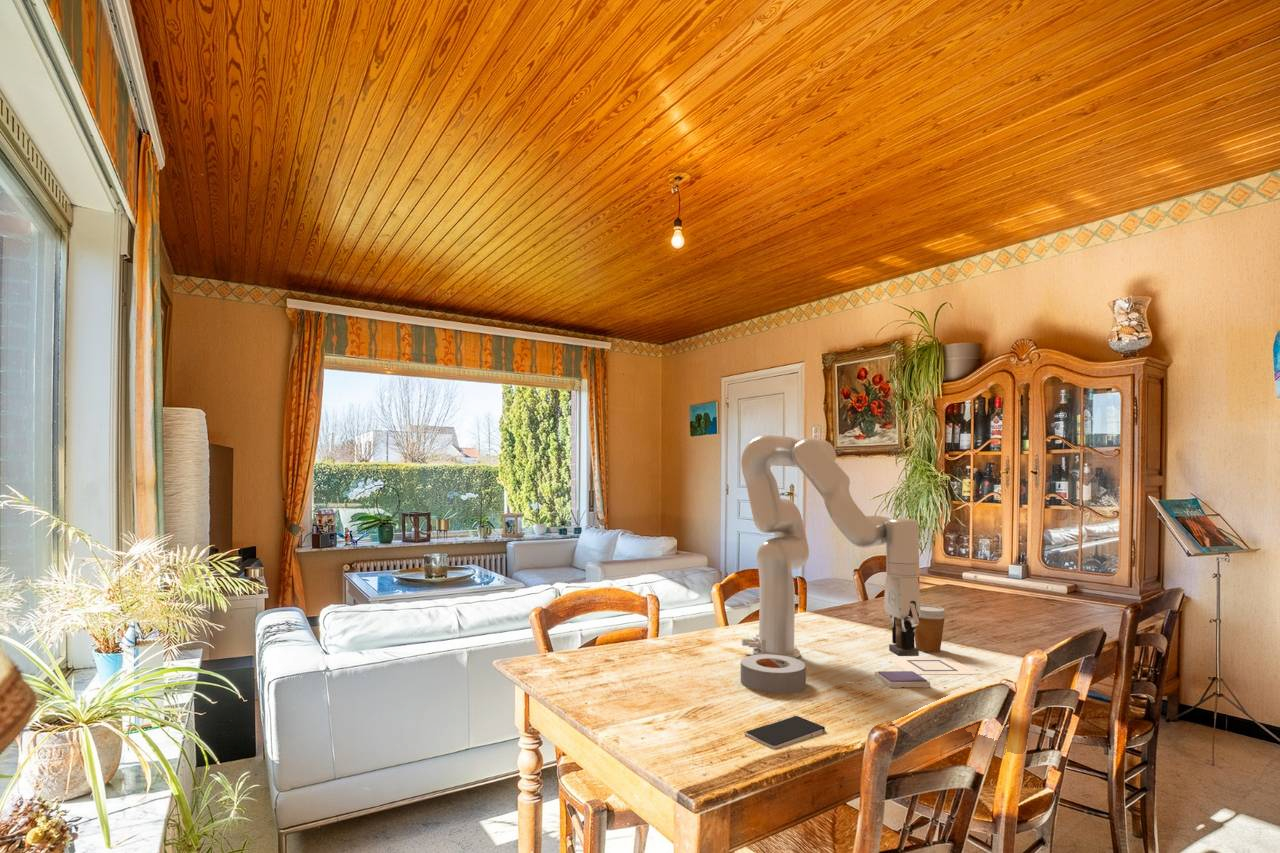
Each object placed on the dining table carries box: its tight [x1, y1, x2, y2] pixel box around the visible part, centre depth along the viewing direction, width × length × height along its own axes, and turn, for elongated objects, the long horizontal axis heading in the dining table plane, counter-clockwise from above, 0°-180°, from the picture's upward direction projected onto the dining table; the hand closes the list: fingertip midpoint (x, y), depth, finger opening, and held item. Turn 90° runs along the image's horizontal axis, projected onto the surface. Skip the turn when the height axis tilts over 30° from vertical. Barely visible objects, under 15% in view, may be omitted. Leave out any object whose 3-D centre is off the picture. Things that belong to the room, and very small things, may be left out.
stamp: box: [888, 616, 920, 657], centre depth 167 cm, size 5×5×9 cm
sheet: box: [886, 657, 980, 676], centre depth 180 cm, size 18×14×1 cm
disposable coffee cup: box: [914, 604, 947, 654], centre depth 196 cm, size 10×10×12 cm
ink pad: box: [874, 670, 931, 689], centre depth 167 cm, size 10×8×2 cm
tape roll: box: [740, 654, 807, 695], centre depth 164 cm, size 15×15×5 cm
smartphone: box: [744, 715, 826, 750], centre depth 134 cm, size 8×1×15 cm
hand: (903, 645), depth 167 cm, fingers closed on stamp, 3 cm apart
